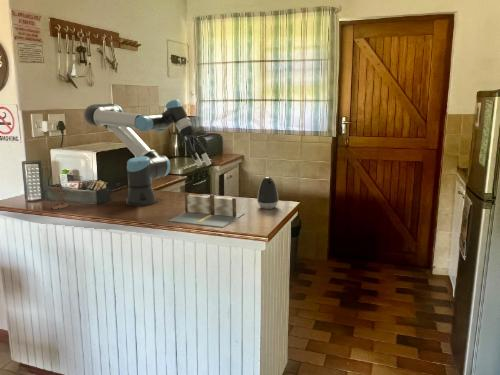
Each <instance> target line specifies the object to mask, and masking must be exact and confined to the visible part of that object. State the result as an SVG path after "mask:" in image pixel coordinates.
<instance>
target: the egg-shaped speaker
mask: <svg viewBox="0 0 500 375" xmlns="http://www.w3.org/2000/svg"><path fill="white" fill-rule="evenodd" d="M276 186H277V185H276V183H275V181H274V179H273V178H272V177H269V176H266V177H263V178H262V180H261V181H260V184H259V187H258V192H257V198H256V201H257V204H258V206H259V207H260V208H262V209H264V210H272V209H274V208H275V207H277V205H278V202H279V194H278V189H277V187H276Z"/></svg>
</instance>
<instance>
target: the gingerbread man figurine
mask: <svg viewBox="0 0 500 375" xmlns="http://www.w3.org/2000/svg"><path fill="white" fill-rule="evenodd" d="M62 192H64V193H62ZM54 193H57V194H54ZM51 194H52V195H53V196H56V199H55V203H54V205H53V207H54V206H58V205H62V204H66V203H67V201H66V200H65V199H64V198H65V197H67V196H68V193H67V191H66V190H63V186H62V184H59V183H58V184H55V187H54V188H52V189H51ZM61 199H62V200H63V201H62V200H61ZM57 202H58V203H57ZM60 203H61V204H60Z"/></svg>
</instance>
